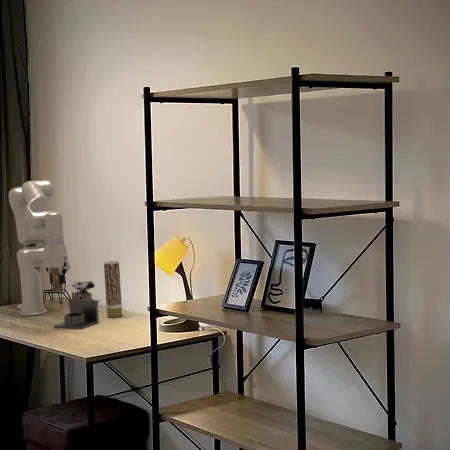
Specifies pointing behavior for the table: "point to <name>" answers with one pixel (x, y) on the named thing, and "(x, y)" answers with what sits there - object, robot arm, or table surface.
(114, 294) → the paper tube
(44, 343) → the table surface
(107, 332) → the table surface
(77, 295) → the figurine
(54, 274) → the brown wooden cylinder
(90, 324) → the bracket
